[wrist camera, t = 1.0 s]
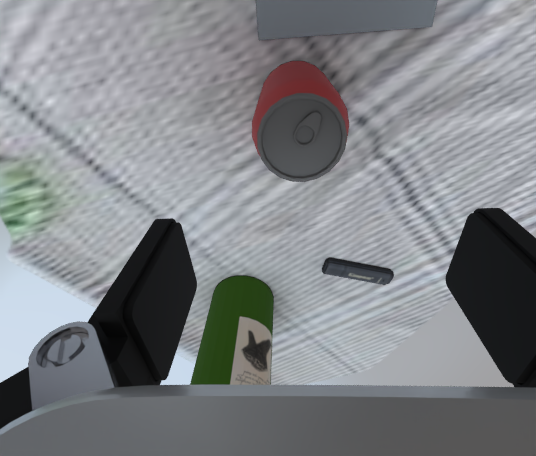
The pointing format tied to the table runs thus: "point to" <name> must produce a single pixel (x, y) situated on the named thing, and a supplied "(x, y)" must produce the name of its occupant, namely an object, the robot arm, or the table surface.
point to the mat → (339, 16)
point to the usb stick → (357, 271)
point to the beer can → (299, 123)
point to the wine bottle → (237, 335)
